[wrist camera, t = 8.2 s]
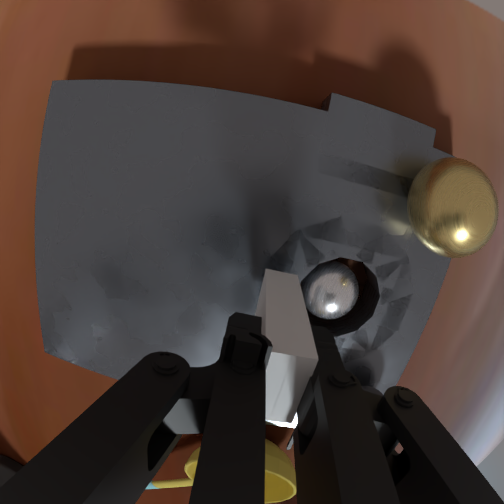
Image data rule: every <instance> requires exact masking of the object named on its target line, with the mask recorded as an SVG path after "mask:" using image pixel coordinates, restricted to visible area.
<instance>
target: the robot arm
mask: <svg viewBox="0 0 504 504" xmlns="http://www.w3.org/2000/svg"><path fill="white" fill-rule="evenodd" d="M296 413H297V420H298V423H297V425H296V427H295V430H294V432H293V434H292V436H291V438H290V440H289V442H288V444H287V448H286V449H287V450H290V448H291V446H292V444H293V443H294V457H295V472H296V489H297V504H504V502H503V501H502V499H501V498H500V497H499V496H498V494H497V493H496V491H495V490H494V489H493V488H492V486H491V485H490V484H489V482H488V481H487V480H486V479H485V477H484V476H483V475H482V473H481V472H480V471H479V470H478V468H477V467H476V466H475V464H474V463H473V462H472V461H471V459H470V458H469V457H468V456H467V454H466V453H465V452H464V451H463V449H462V448H461V447H460V446H459V444H458V443H457V442H456V441H455V440H454V438H453V437H452V436H451V435H450V433H449V432H448V431H447V430H446V428H445V427H444V426H443V425H442V424H441V422H440V421H439V420H438V419H437V418H436V416H435V415H434V414H433V413H432V411H431V410H430V409H429V408H428V407H427V405H426V404H425V403H424V402H423V401H422V399H421V398H420V397H419V396H418V395H417V394H416V393H415V392H413V391H411V390H409V389H408V388H404V387H401V386H393V387H390V388H388V389H387V390H386V391H385V393H384V395H383V396H381V395H377V394H374V393H371V392H368V391H365V390H363V389H362V386H361V384H360V382H359V380H358V378H357V377H356V376H354V375H353V374H352V373H351V372H348V371H346V370H345V368H344V365H343V362H342V359H341V356H340V353H339V351H338V347H337V345H336V341H335V338H334V336H333V334H332V333H331V332H330V331H329V330H328V329H327V328H325V327H319V326H313V325H310V322H309V318H308V314H307V310H306V306H305V302H304V298H303V294H302V290H301V286H300V282H299V278H298V275H295V274H290V273H285V272H280V271H275V270H270V269H266V270H265V274H264V278H263V283H262V287H261V291H260V295H259V299H258V303H257V308H256V312H255V316H254V315H249V314H244V313H239V312H235V313H234V314H232V315H231V316H230V317H229V318H228V323H227V327H226V332H225V336H224V337H223V342H222V347H221V352H220V357H219V359H218V360H217V361H216V362H215V363H213V364H211V365H208V366H205V367H190V365H189V363H188V362H187V361H186V360H185V359H184V358H183V357H181V356H179V355H178V354H175V353H171V352H163V351H158V352H153V353H150V354H148V355H146V356H145V357H143V358H142V359H141V360H140V361H139V362H138V363H137V364H136V365H135V366H134V367H132V368H131V369H130V370H129V371H128V372H127V373H126V374H125V375H124V376H123V377H122V378H120V379H119V380H118V381H117V382H116V383H115V384H114V385H113V386H112V387H111V388H109V389H108V390H107V391H106V392H105V393H104V394H103V395H102V396H101V397H100V398H99V399H97V400H96V401H95V402H94V403H93V404H92V405H91V406H90V407H89V408H88V409H86V410H85V411H84V412H83V413H82V414H81V415H80V416H79V417H78V418H77V419H75V420H74V421H73V422H72V423H71V424H70V425H69V426H68V427H67V428H66V429H64V430H63V431H62V432H61V433H60V434H59V435H58V436H57V437H56V438H54V439H53V440H52V441H51V442H50V443H49V444H48V445H47V446H46V447H45V448H43V449H42V450H41V451H40V452H39V453H38V454H37V455H36V456H35V457H33V458H32V459H31V460H30V461H29V462H28V463H27V464H26V465H25V466H24V467H23V466H22V465H20V464H19V463H17V462H15V461H14V460H12V459H10V458H8V457H6V456H3V455H0V504H135V503H136V501H137V500H138V499H139V497H140V496H141V494H142V493H143V492H144V490H145V489H146V487H147V486H148V484H149V483H150V482H151V480H152V479H153V477H154V476H155V475H156V473H157V472H158V470H159V469H160V467H161V466H162V464H163V463H164V462H165V460H166V459H167V457H168V456H169V454H170V453H171V451H172V450H173V448H174V447H175V445H176V444H177V443H178V441H179V440H180V438H181V436H182V434H198V433H203V437H202V442H201V447H200V452H199V457H198V461H197V466H196V471H195V476H194V481H193V486H192V490H191V495H190V500H189V504H265V435H266V420H268V421H275V422H283V423H291V424H292V422H293V420H294V418H295V415H296ZM399 442H400V444H401V445H402V447H403V448H404V449H403V451H402V452H401V453H400V454H398V453H397V452H396V451H395V447H396V446H397V445H398V443H399Z"/></svg>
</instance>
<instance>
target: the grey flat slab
mask: <svg viewBox="0 0 504 504" xmlns="http://www.w3.org/2000/svg"><path fill="white" fill-rule="evenodd" d="M435 133H436V129H434V128H432V127H429V126H427V125H424V124H422V123H420V122H417V121H415V120H412V119H410V118H407V117H404V116H402V115H399V114H397V113H394V112H391V111H388V110H385V109H383V108H380V107H377V106H374V105H371V104H368V103H365V102H362V101H359V100H355V99H352V98H349V97H346V96H342V95H339V94H335V93H331V94H330V95H329V96H328V97H327V98H326V99H325V100H324V101H323V103H322V108H321V110H320V109H316V108H312V107H308V106H304V105H300V104H295V103H291V102H287V101H282V100H278V99H273V98H268V97H263V96H258V95H252V94H247V93H241V92H235V91H229V90H223V89H216V88H209V87H201V86H193V85H184V84H174V83H163V82H149V81H131V80H59V81H52V86H51V90H50V95H49V99H48V104H47V110H46V115H45V121H44V127H43V133H42V140H41V147H40V155H39V164H38V175H37V187H36V205H35V264H36V282H37V295H38V305H39V314H40V322H41V330H42V337H43V343H44V349H45V352H46V353H48V354H51V355H53V356H55V357H58V358H60V359H63V360H65V361H68V362H70V363H73V364H75V365H78V366H81V367H83V368H86V369H89V370H91V371H94V372H97V373H100V374H103V375H106V376H109V377H111V378H115V379H118V380H119V379H120V378H122V377H123V376H124V375H125V374H126V373H127V372H128V371H129V370H130V369H131V368H132V367H134V366H135V365H136V364H137V363H138V362H139V361H140V360H141V359H142V358H143V357H145V356H146V355H148V354H150V353H153V352H158V351H163V352H171V353H175V354H178V355H179V356H181V357H183V358H184V359H185V360H186V361H187V362H188V363H189V365H190V367H205V366H208V365H211V364H213V363H215V362H216V361H217V360H218V359H219V357H220V352H221V347H222V342H223V337H224V336H225V332H226V327H227V323H228V318H229V317H230V316H231V315H232V314H234V313H235V312H239V313H244V314H249V315H254V316H255V312H256V308H257V303H258V299H259V295H260V291H261V287H262V283H263V278H264V274H265V270H266V269H270V270H275V271H280V272H285V273H290V274H295V275H298V278H299V282H300V283H301V281H302V280H303V279H304V278H305V277H306V276H307V275H308V274H309V273H310V272H311V271H312V270H313V269H314V268H315V267H316V266H317V265H318V264H320V263H323V262H327V261H330V260H333V259H336V258H340V257H342V258H347V259H351V260H356V261H360V262H363V263H364V266H365V271H366V276H367V281H366V284H365V287H364V290H363V293H362V296H361V298H360V299H359V300H358V301H357V302H356V303H355V305H354V306H353V308H352V309H351V310H350V311H349V312H348V313H346V314H345V315H343V316H341V317H339V318H335V319H323V318H320V317H318V316H316V315H314V314H312V313H310V312H309V311H308V310H307V309H306V310H307V314H308V318H309V322H310V325H313V326H319V327H325V328H327V329H328V330H329V331H330V332H331V333H332V334H333V336H334V338H335V341H336V345H337V347H338V351H339V353H340V356H341V359H342V362H343V365H344V368H345V370H346V371H348V372H351V373H352V374H353V375H354V376H356V377H357V378H358V380H359V382H360V384H361V386H370V387H374V388H376V389H378V390H379V391H380V392H381V393H382V394H383V395H384V393H385V391H386V390H387V389H388V388H390V387H393V386H396V384H397V382H398V380H399V378H400V377H401V375H402V373H403V371H404V369H405V367H406V365H407V363H408V361H409V359H410V357H411V355H412V353H413V351H414V349H415V347H416V345H417V343H418V340H419V338H420V336H421V334H422V332H423V330H424V327H425V325H426V323H427V320H428V318H429V316H430V313H431V311H432V309H433V306H434V304H435V301H436V299H437V296H438V294H439V291H440V288H441V286H442V283H443V280H444V278H445V275H446V272H447V269H448V266H449V263H450V260H451V258H449V257H444V256H441V255H438V254H436V253H434V252H432V251H431V250H429V249H428V248H427V247H426V246H424V245H423V244H422V243H421V242H420V240H419V239H418V238H417V236H416V235H415V233H414V231H413V229H412V227H411V224H410V221H409V217H408V211H407V201H408V194H409V190H410V187H411V184H412V182H413V180H414V178H415V177H416V175H417V174H418V173H419V172H420V171H421V170H422V169H423V168H424V167H425V166H426V165H428V164H429V163H431V162H433V161H435V160H438V159H441V158H446V157H454V156H452V155H450V154H447V153H445V152H443V151H440V150H438V149H436V148H433V144H434V139H435ZM455 158H457V157H455ZM297 423H298V420H297V413H296V415H295V418H294V420H293V422H292V424H291V423H283V422H275V421H268V420H266V424H268V425H275V426H283V427H292V428H295V427H296V425H297Z"/></svg>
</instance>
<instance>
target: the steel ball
mask: <svg viewBox="0 0 504 504" xmlns="http://www.w3.org/2000/svg"><path fill="white" fill-rule="evenodd" d="M301 290H302V294H303V298H304V302H305V306H306V308H307V309H308V310H309V311H310V312H311V313H312V314H314V315H316V316H318V317H320V318H323V319H335V318H339V317H341V316H343V315H345V314H346V313H348V312H349V311H350V310H351V309H352V308H353V306H354V305H355V303H356V301H357V298H358V293H359V287H358V281H357V278H356V276H355V274H354V273H353V272H352V270H351V269H350V268H349V267H347V266H346V265H344V264H342V263H340V262H337V261H327V262H323V263H320V264H318V265H317V266H316V267H315V268H314V269H313V270H312V271H311V272H310V273H309V274H308V275H307V276H306V277H305V278H304V279H303V281H302V284H301Z"/></svg>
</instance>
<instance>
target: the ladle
mask: <svg viewBox="0 0 504 504" xmlns="http://www.w3.org/2000/svg"><path fill="white" fill-rule="evenodd" d="M199 452H200V447H199V448H198V449H197V450H195V451H194V452H193V453H192V455H191V456H190V458H189V459H188V461H187V462H186V464H185V472H186V473H187V475H188V477H189V478H186V479H176V480H164V481H151V482H150V483H149V484H148V486H147V487H146V489H160V488H171V487H184V486H193V481H194V476H195V471H196V466H197V461H198V457H199ZM295 494H296V472H295V470H294V467H293V465H292V463H291V461H290V459H289V458H288V456H287V455H286V454H285V453H284V452H283V451H282V450H281V449H280V448H279V447H278V446H277V445H275V444H274V443H272V442H271V441H269V440H267V439H265V503H275V502H281V501H285V500H288V499H290V498H292V497H293V496H294V495H295Z"/></svg>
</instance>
